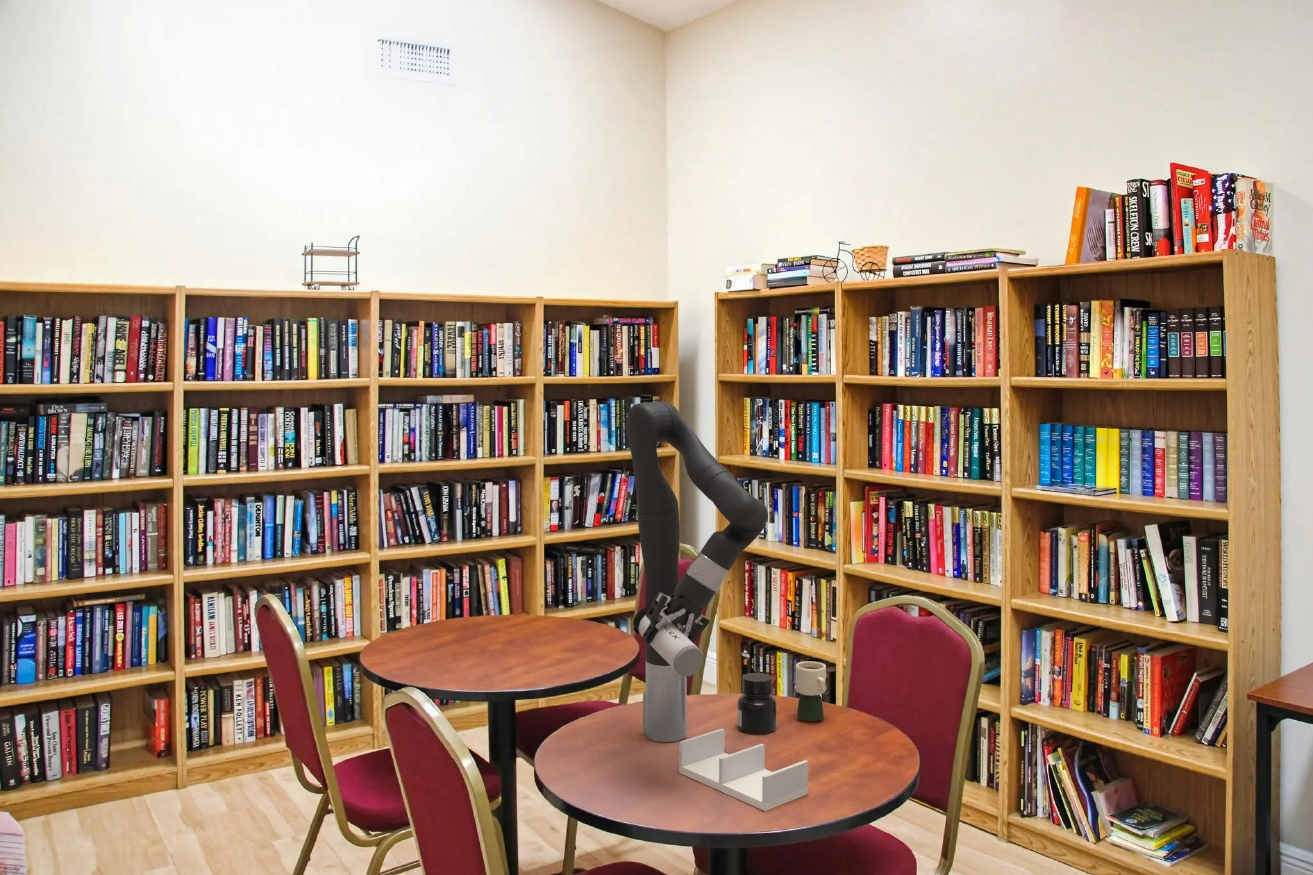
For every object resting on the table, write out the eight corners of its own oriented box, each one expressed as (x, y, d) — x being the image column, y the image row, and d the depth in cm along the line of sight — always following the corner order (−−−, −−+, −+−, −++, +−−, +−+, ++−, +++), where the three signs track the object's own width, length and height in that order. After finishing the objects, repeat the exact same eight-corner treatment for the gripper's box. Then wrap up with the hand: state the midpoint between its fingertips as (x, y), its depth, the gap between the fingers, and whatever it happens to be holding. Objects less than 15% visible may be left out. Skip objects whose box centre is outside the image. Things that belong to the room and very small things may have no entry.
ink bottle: (750, 718, 240) (751, 668, 240) (783, 726, 235) (784, 675, 235) (729, 730, 233) (729, 678, 232) (762, 738, 227) (763, 685, 227)
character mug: (836, 724, 237) (837, 669, 236) (810, 728, 234) (811, 673, 233) (810, 710, 246) (810, 657, 246) (785, 714, 243) (785, 661, 243)
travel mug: (688, 683, 200) (644, 638, 217) (710, 657, 200) (663, 613, 217) (669, 669, 196) (625, 624, 213) (690, 642, 197) (645, 599, 214)
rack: (679, 772, 208) (679, 741, 207) (721, 758, 216) (721, 728, 215) (765, 811, 190) (765, 777, 189) (807, 793, 197) (808, 761, 197)
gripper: (716, 586, 215) (673, 652, 215) (669, 558, 207) (623, 627, 207) (735, 601, 208) (690, 669, 208) (686, 573, 201) (639, 644, 201)
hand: (657, 648), depth 208 cm, fingers closed on travel mug, 6 cm apart
